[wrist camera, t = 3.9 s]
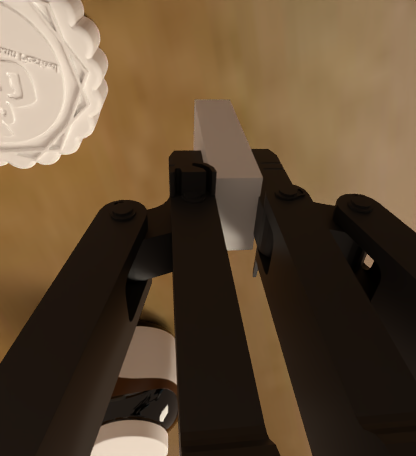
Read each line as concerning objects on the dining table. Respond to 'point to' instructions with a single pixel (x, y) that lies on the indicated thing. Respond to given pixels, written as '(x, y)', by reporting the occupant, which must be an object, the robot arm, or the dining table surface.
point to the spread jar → (142, 397)
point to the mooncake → (48, 80)
